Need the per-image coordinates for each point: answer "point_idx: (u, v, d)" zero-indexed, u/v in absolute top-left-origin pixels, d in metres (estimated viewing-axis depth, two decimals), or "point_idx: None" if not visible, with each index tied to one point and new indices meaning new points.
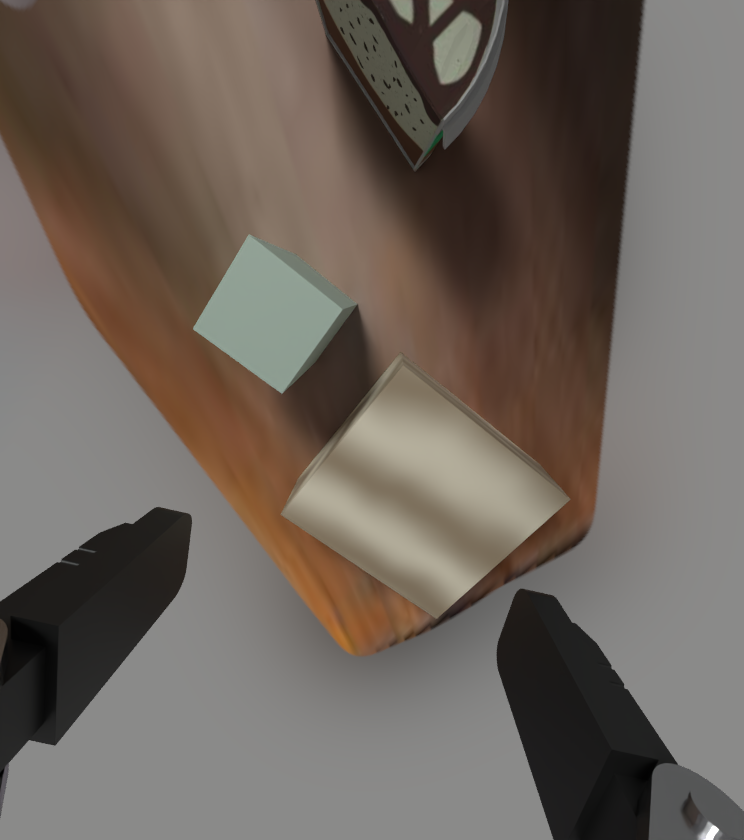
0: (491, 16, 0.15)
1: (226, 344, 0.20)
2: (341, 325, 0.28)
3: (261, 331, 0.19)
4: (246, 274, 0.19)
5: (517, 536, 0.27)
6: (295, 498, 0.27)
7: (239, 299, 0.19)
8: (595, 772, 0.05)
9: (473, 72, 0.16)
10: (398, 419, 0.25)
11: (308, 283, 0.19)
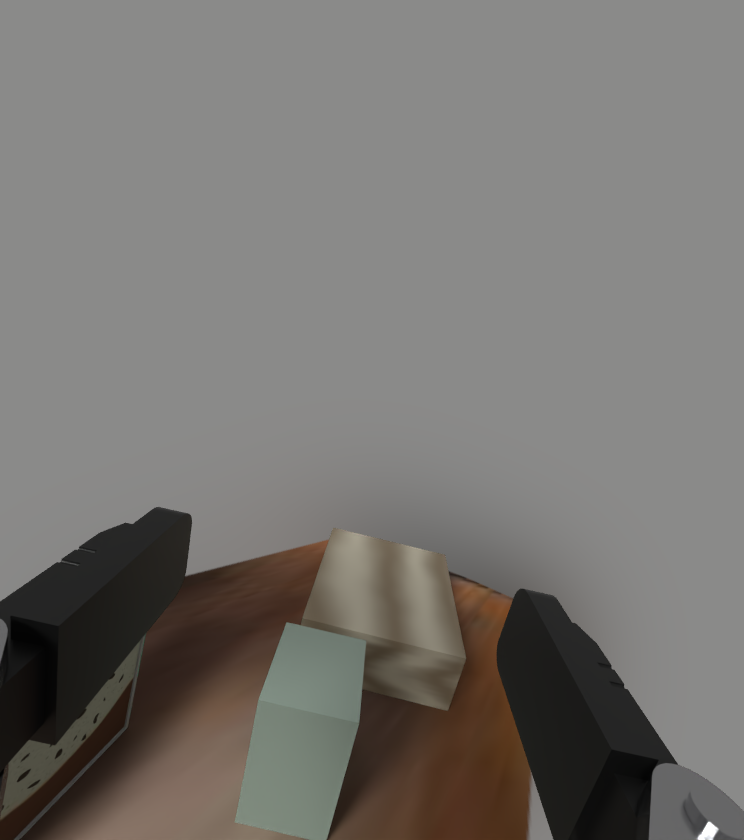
0: None
1: (355, 690, 0.22)
2: None
3: (329, 667, 0.23)
4: (291, 692, 0.21)
5: (368, 539, 0.45)
6: (444, 652, 0.31)
7: (313, 691, 0.21)
8: (595, 772, 0.05)
9: None
10: (340, 609, 0.33)
11: (278, 647, 0.24)
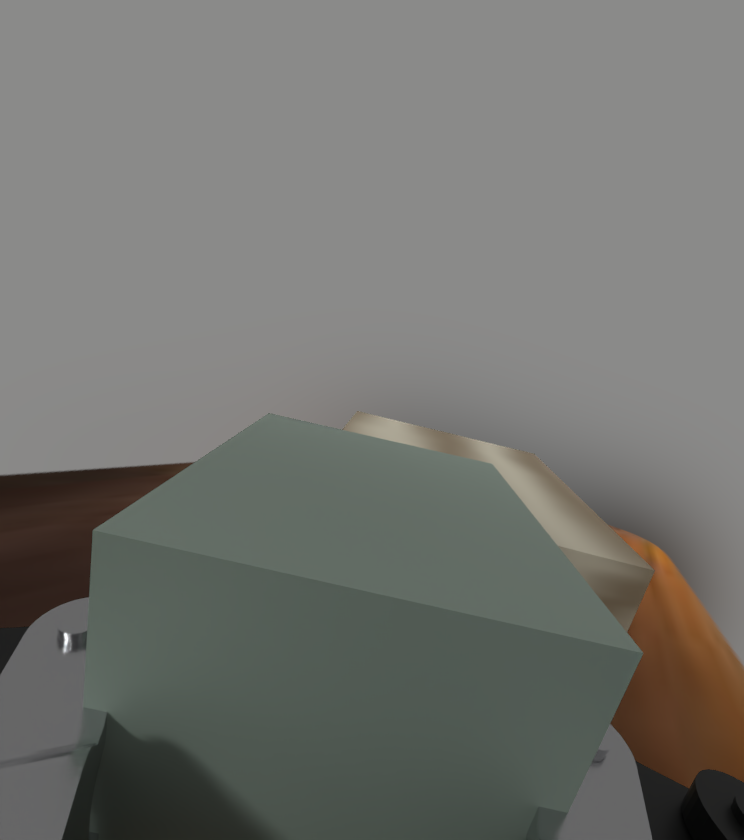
0: None
1: (535, 545, 0.05)
2: None
3: (414, 488, 0.07)
4: (274, 525, 0.04)
5: (412, 426, 0.29)
6: (605, 557, 0.14)
7: (374, 531, 0.05)
8: None
9: None
10: None
11: (238, 437, 0.07)
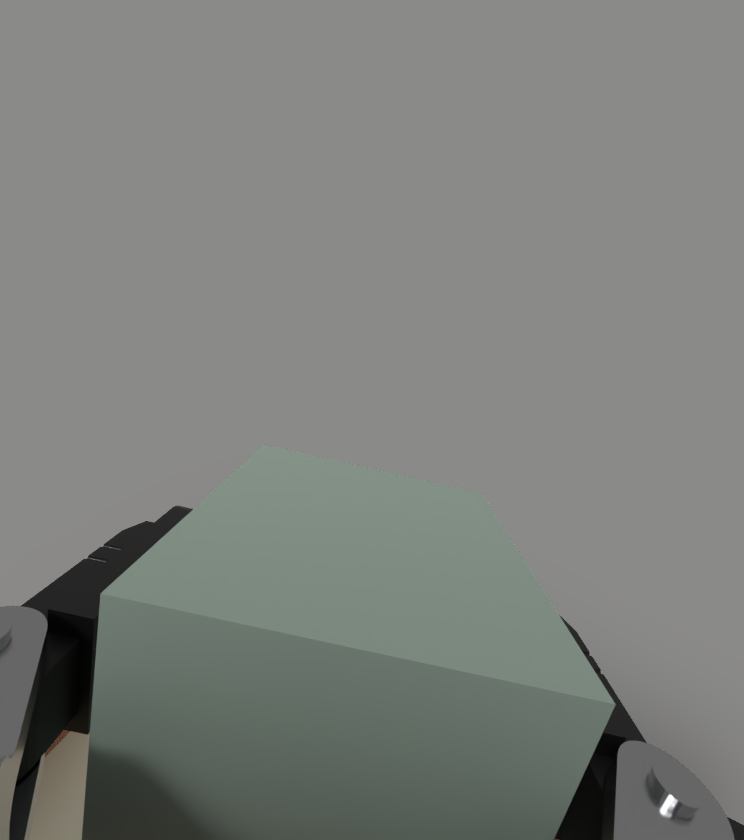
0: None
1: (520, 588, 0.06)
2: None
3: (405, 527, 0.07)
4: (272, 578, 0.05)
5: None
6: None
7: (366, 580, 0.05)
8: None
9: None
10: None
11: (235, 475, 0.07)
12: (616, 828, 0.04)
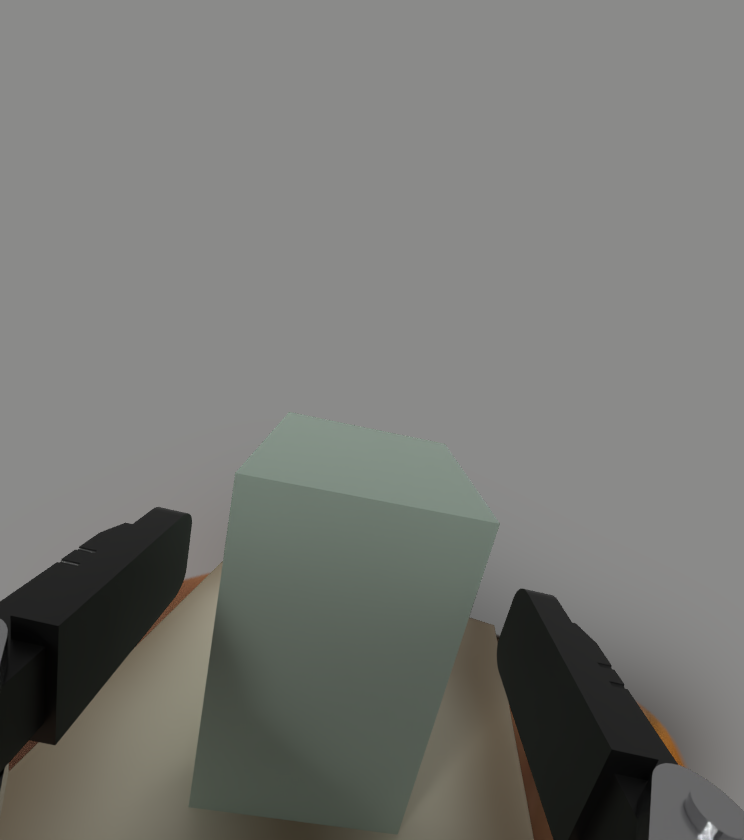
0: None
1: (460, 485, 0.10)
2: None
3: (391, 457, 0.11)
4: (318, 473, 0.08)
5: None
6: None
7: (370, 476, 0.09)
8: (595, 772, 0.05)
9: None
10: None
11: (277, 428, 0.11)
12: None
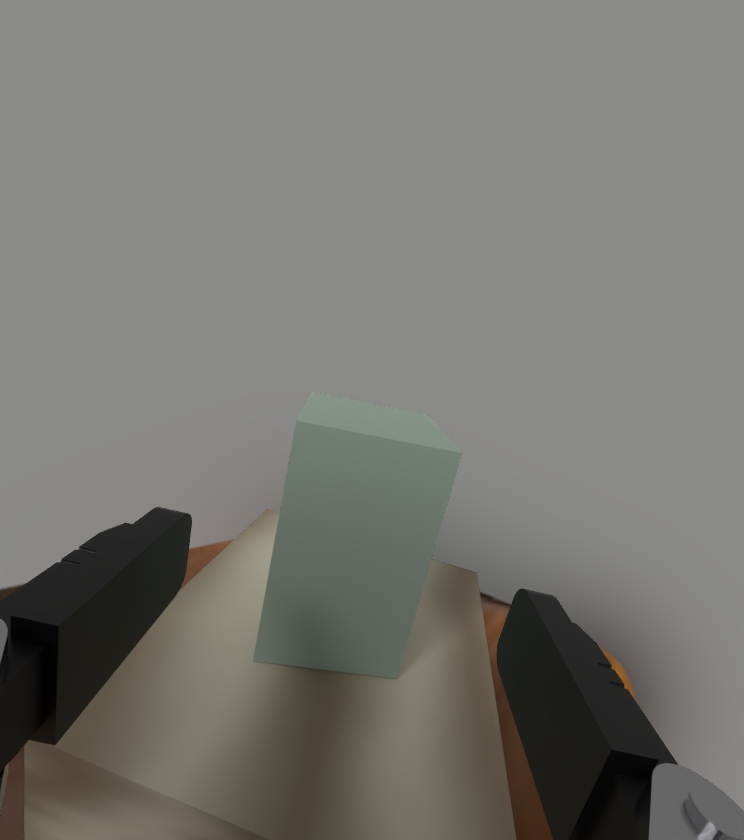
0: None
1: (438, 436, 0.14)
2: None
3: (390, 419, 0.15)
4: (345, 423, 0.13)
5: None
6: None
7: (378, 427, 0.13)
8: (595, 772, 0.05)
9: None
10: (168, 704, 0.12)
11: (309, 400, 0.15)
12: None
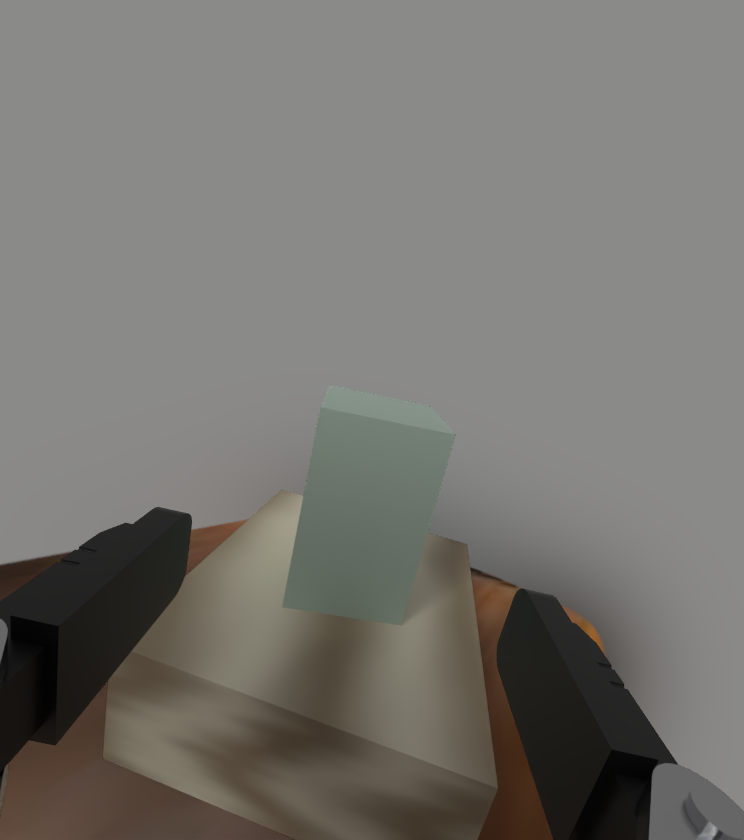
0: None
1: (437, 421, 0.17)
2: None
3: (397, 408, 0.18)
4: (359, 410, 0.16)
5: None
6: (441, 764, 0.12)
7: (387, 414, 0.16)
8: (595, 772, 0.05)
9: None
10: (216, 628, 0.15)
11: (328, 392, 0.18)
12: None
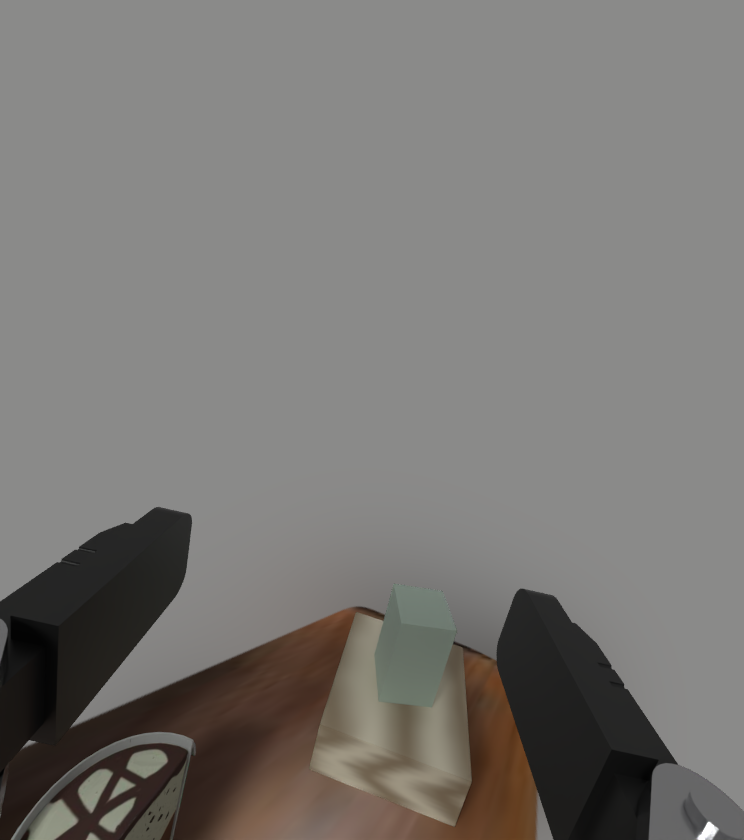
0: (129, 749, 0.26)
1: (448, 616, 0.38)
2: None
3: (429, 605, 0.39)
4: (415, 618, 0.37)
5: None
6: (451, 772, 0.33)
7: (426, 617, 0.37)
8: (595, 772, 0.05)
9: (159, 745, 0.27)
10: (355, 714, 0.36)
11: (396, 597, 0.39)
12: None
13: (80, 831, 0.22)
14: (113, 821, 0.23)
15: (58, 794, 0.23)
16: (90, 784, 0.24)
